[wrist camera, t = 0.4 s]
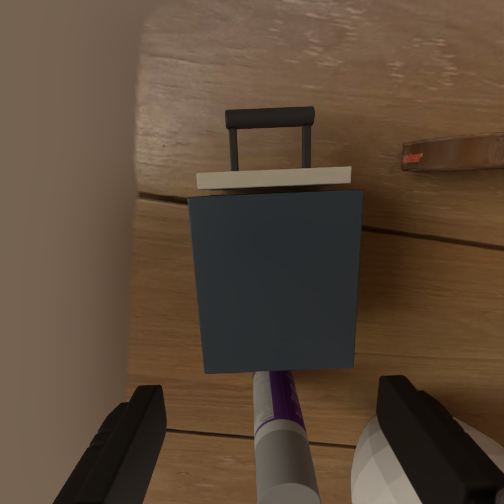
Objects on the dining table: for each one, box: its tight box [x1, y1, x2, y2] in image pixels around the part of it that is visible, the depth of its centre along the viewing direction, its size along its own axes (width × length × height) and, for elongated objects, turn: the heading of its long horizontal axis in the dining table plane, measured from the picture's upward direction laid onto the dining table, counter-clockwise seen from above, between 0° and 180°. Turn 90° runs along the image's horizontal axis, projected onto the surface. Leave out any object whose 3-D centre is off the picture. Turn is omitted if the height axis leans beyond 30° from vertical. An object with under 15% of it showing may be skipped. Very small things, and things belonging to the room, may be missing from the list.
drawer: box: [196, 106, 351, 190], centre depth 23 cm, size 18×11×8 cm, turn 2°
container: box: [253, 370, 321, 504], centre depth 25 cm, size 5×5×15 cm
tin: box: [401, 132, 504, 171], centre depth 23 cm, size 15×3×8 cm, turn 93°
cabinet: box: [188, 190, 364, 374], centre depth 24 cm, size 15×13×10 cm
